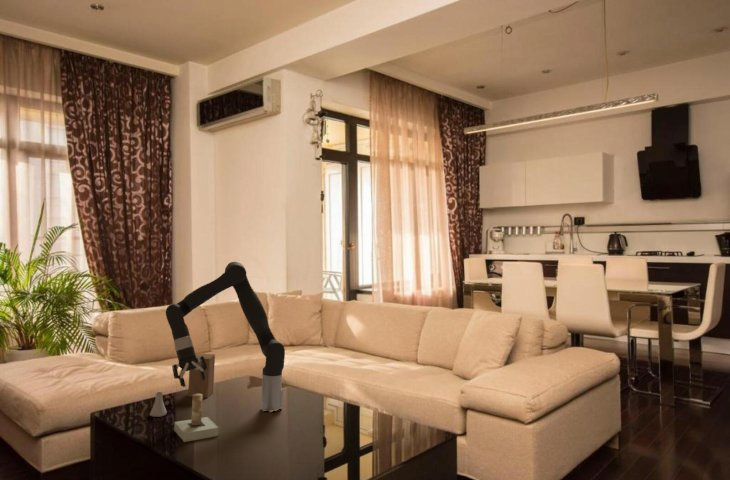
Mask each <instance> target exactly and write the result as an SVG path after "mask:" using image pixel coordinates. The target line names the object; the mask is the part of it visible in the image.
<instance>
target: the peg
mask: <svg viewBox="0 0 730 480" xmlns="http://www.w3.org/2000/svg"><path fill="white" fill-rule="evenodd" d="M202 397H203V395H202V394H193V397H191V398H192V402H191V419H192V420H191V419H190V420H191V426H192V428H196V427H200V426H201V424H202V423H201V419H202V418H203V416H202V414H203V413H202V412H203V398H202Z"/></svg>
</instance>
